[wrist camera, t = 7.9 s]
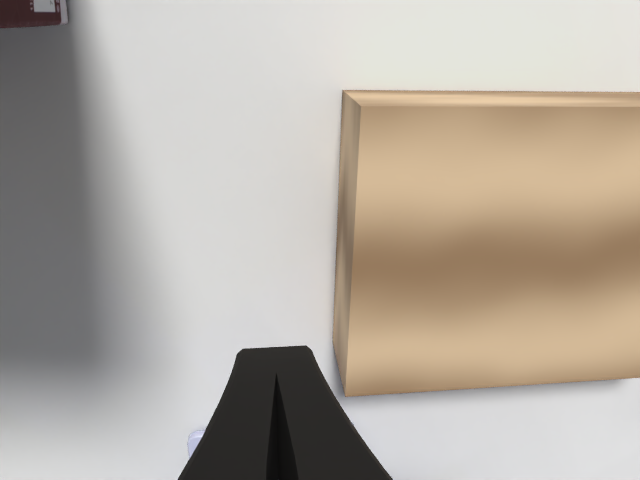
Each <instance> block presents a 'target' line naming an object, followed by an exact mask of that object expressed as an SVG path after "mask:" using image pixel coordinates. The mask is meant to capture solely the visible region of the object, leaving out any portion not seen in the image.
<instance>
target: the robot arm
mask: <svg viewBox="0 0 640 480" xmlns="http://www.w3.org/2000/svg"><path fill="white" fill-rule="evenodd" d="M188 452H189V461H188V463H187V464H186V466H185V468H184V469H183V471H182V473H181V475H180V476H179V478H178V480H393V479H392V478H391V477H390V475H389V474H388V473H387V472H386V470H385V469H384V468H383V466H382V465H381V464H380V462H379V461H378V460H377V458H376V457H375V456H374V454H373V453H372V452H371V450H370V449H369V448H368V446H367V445H366V443H365V442H364V440H363V439H362V438H361V436H360V435H359V433H358V432H357V430H356V429H355V427H354V424H353V423H352V422H351V421H350V420H349V418H348V417H347V415H346V413H345V412H344V410H343V409H342V407H341V406H340V404H339V402H338V401H337V399H336V397H335V396H334V394H333V392H332V391H331V389H330V387H329V385H328V383H327V382H326V380H325V378H324V376H323V374H322V372H321V370H320V368H319V366H318V364H317V362H316V360H315V357H314V355H313V352H312V350H311V349H310V348H309V347H307V346H288V347H269V348H250V349H242V350H241V351H240V352H239V353H238V354H237V356H236V360H235V364H234V367H233V370H232V373H231V375H230V378H229V381H228V383H227V386H226V388H225V390H224V392H223V395H222V397H221V399H220V402H219V404H218V406H217V408H216V410H215V412H214V414H213V416H212V418H211V420H210V422H209V424H208V426H207V428H206V430H202V431H195V432H193V433H191V434H190V436H189V439H188Z"/></svg>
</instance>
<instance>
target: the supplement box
mask: <svg viewBox="0 0 640 480" xmlns="http://www.w3.org/2000/svg"><path fill="white" fill-rule="evenodd" d="M67 23H68V15H67V6H66V0H0V28H14V27H16V28H18V27H35V26H50V25H64V24H67Z"/></svg>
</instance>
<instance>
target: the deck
mask: <svg viewBox="0 0 640 480" xmlns="http://www.w3.org/2000/svg"><path fill="white" fill-rule="evenodd" d="M333 345H334V350H335V354H336V359H337V363H338V367H339V372H340V376H341V381H342V385H343V389H344V394H345V397H349V396H364V395H380V394H395V393H411V392H426V391H441V390H457V389H472V388H487V387H503V386H518V385H534V384H549V383H564V382H580V381H595V380H610V379H626V378H640V92H529V91H385V90H343V93H342V119H341V144H340V170H339V196H338V221H337V247H336V272H335V298H334V324H333Z"/></svg>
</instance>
